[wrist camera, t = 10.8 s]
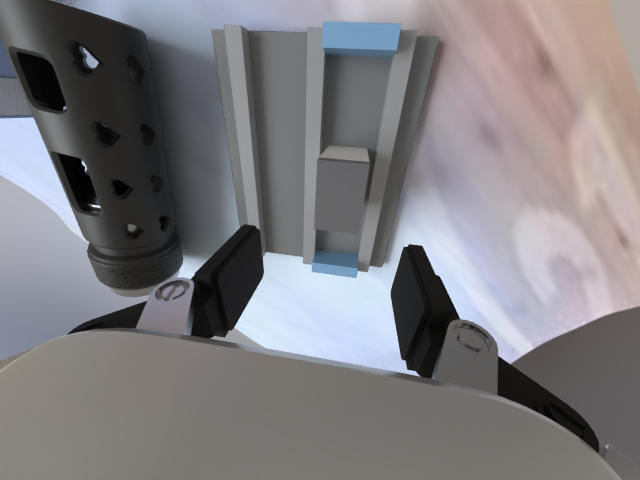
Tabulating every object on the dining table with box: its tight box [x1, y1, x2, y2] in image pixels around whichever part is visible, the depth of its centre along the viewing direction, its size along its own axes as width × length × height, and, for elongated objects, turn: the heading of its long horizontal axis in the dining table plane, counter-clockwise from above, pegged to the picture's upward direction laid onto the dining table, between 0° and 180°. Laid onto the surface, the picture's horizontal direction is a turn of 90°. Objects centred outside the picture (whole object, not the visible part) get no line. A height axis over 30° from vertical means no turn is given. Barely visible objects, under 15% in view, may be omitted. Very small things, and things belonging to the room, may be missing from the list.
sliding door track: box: [212, 22, 439, 278], centre depth 25 cm, size 24×20×4 cm
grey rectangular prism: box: [314, 145, 370, 234], centre depth 22 cm, size 6×4×8 cm, turn 177°
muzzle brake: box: [0, 0, 183, 297], centre depth 25 cm, size 10×28×10 cm, turn 168°
